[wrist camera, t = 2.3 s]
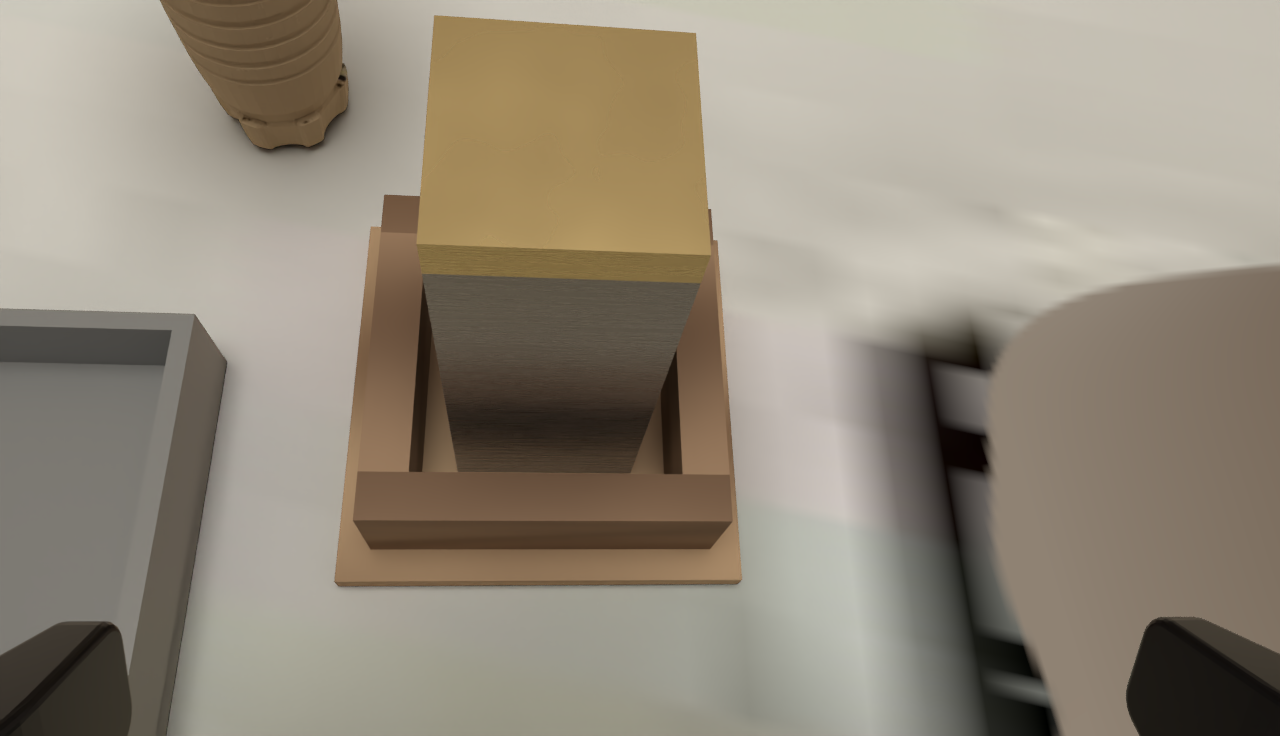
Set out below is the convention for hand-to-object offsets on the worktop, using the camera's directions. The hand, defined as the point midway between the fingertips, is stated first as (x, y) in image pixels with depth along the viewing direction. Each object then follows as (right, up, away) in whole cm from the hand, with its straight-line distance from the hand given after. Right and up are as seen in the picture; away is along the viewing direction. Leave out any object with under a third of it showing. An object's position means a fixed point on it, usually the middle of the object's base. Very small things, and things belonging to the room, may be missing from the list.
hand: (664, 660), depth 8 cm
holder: (-3, +2, +15) cm, 15 cm away
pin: (-2, +2, +14) cm, 15 cm away
